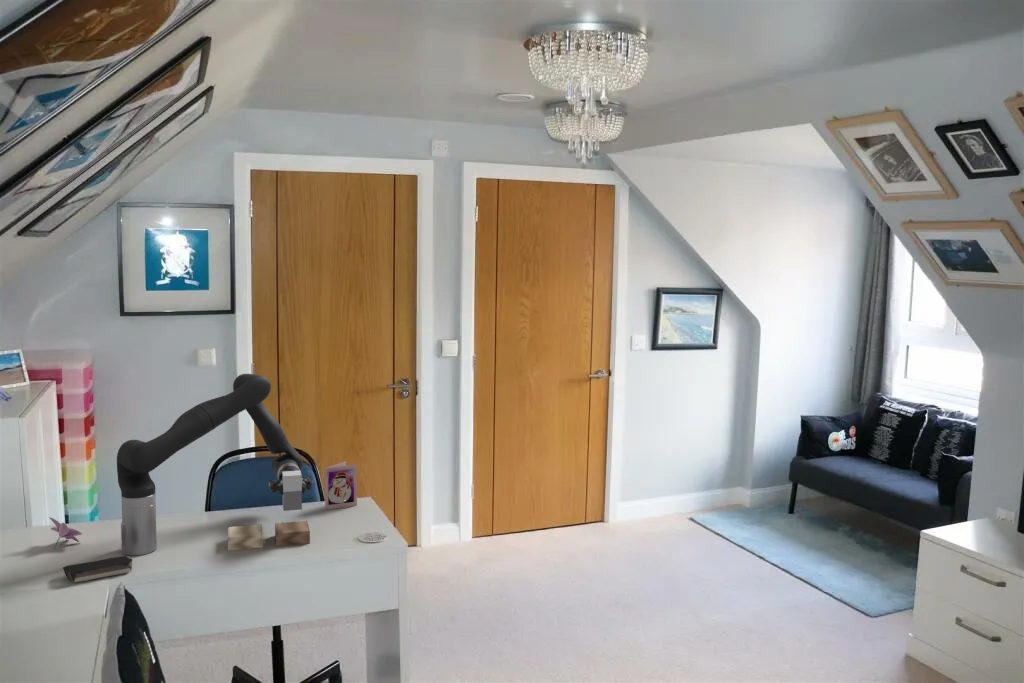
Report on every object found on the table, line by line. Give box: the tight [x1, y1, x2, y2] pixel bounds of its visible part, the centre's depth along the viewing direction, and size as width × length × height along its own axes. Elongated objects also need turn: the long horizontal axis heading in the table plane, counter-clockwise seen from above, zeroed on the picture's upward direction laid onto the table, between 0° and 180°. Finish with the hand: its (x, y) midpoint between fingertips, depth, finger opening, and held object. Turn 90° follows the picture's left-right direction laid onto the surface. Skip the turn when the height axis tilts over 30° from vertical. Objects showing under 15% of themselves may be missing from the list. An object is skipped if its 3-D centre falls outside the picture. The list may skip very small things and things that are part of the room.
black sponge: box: [62, 555, 133, 583], centre depth 222 cm, size 16×8×4 cm, turn 126°
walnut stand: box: [274, 520, 311, 547], centre depth 253 cm, size 10×10×4 cm
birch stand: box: [227, 524, 264, 551], centre depth 248 cm, size 10×10×4 cm
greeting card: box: [324, 460, 358, 510], centre depth 288 cm, size 11×7×15 cm, turn 118°
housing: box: [282, 470, 303, 512], centre depth 251 cm, size 6×6×11 cm
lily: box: [48, 516, 83, 549], centre depth 243 cm, size 11×11×9 cm
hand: (292, 491), depth 249 cm, fingers closed on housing, 5 cm apart
